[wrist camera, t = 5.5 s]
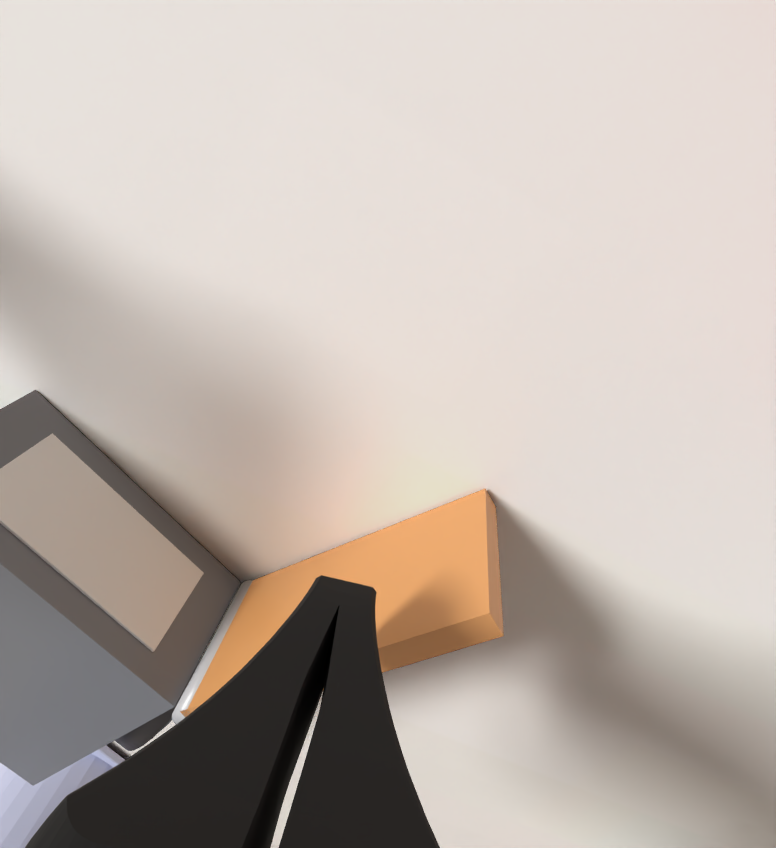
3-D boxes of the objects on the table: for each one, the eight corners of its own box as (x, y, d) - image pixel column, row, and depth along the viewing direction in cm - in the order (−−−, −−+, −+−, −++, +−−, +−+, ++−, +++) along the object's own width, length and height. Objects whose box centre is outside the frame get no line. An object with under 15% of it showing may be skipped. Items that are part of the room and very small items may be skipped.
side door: (249, 603, 22) (185, 734, 17) (234, 584, 22) (165, 713, 17) (497, 509, 19) (505, 638, 14) (483, 486, 19) (487, 610, 14)
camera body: (269, 606, 22) (205, 750, 17) (144, 681, 25) (57, 824, 20) (37, 388, 19) (-129, 479, 14) (-74, 502, 22) (-244, 613, 17)
